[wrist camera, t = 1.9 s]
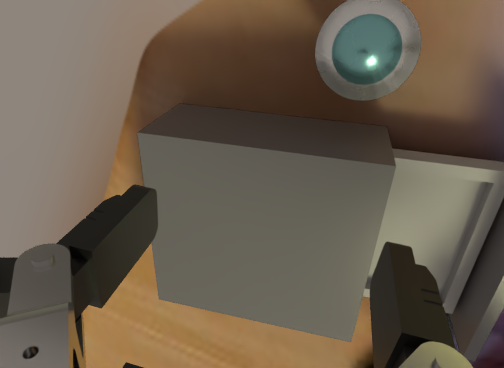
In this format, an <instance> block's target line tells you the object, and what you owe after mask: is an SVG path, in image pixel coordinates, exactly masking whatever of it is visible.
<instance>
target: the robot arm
mask: <svg viewBox="0 0 504 368" xmlns="http://www.w3.org/2000/svg"><path fill="white" fill-rule="evenodd" d="M157 229H158V207H157V192H156V190H155V189H153V188H148V187H144V186H139V185H132V186H131V187H130V188H129V189H128V190H127V191H126V192H125V193H124V194H123V195H122V196H120V195H116V196H113V197H111V198H109V199H107V200H105V201H103V202H102V203H101V204H100V205H99V206H98V207H96V208H95V209H94V211H93V212H91V213H90V214H89V215H88V216H86V219H83V220H82V221H81V222H80V223H79V224H78V225H77V226H75V227H74V228H73V229H72V230H71V231H70V232H69V233H68V234H66V235H65V236H64V237H63V238H62V239H61V240H60V241H59V242H58V243H56V244H43V245H39V246H35V247H33V248H31V249H29V250H27V251H25V252H24V253H22V254H21V255H20V256H19V258H0V368H86V357H85V340H84V322H83V314H82V312H83V311H84V310H85V308H86V307H87V306H88V305H91V306H95V307H98V308H102V307H103V306H104V305H105V303H106V302H107V301H108V299H109V298H110V297H111V295H112V294H113V293H114V291H115V290H116V289H117V287H118V286H119V285H120V283H121V282H122V281H123V279H124V278H125V277H126V275H127V274H128V273H129V271H130V270H131V269H132V268H133V266H134V265H135V264H136V262H137V261H138V260H139V258H140V257H141V256H142V254H143V253H144V252H145V250H146V249H147V248H148V246H149V245H150V244H151V242H152V241H153V240H154V238H155V236H156V233H157ZM439 294H440V292H439V289H438V285H437V282H436V279H435V278H434V276H433V275H432V274H431V272H430V271H429V270H428V269H427V267H426V266H423V265H419V264H415V259H414V255H413V251H412V248H411V247H410V246H406V245H401V244H397V243H392V242H388V241H387V242H386V243H385V244H384V246H383V249H382V252H381V254H380V257H379V260H378V262H377V265H376V268H375V270H374V273H373V276H372V279H371V284H370V309H371V326H372V343H373V360H374V368H473V367H472V365H471V364H470V363H469V361H468V360H467V359H466V358H465V357H464V356H463V355H462V354H461V353H459V352H458V351H457V350H456V349H455V345H454V342H453V338H452V335H451V331H450V328H449V324H448V321H447V317H446V313H445V310H444V307H443V303H442V299H441V296H440V295H439ZM123 368H143V367H140V366H136V365H133V364H130V363H127V362H126V363H125V365H124V366H123Z"/></svg>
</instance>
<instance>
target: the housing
mask: <svg viewBox="0 0 504 368" xmlns="http://www.w3.org/2000/svg"><path fill="white" fill-rule="evenodd" d="M137 135H138V142H139V150H140V158H141V165H142V173H143V181H144V187H148V188H153V189H155V190H156V192H157V207H158V229H157V233H156V236H155V238H154V240H153V241H152V250H153V258H154V265H155V273H156V281H157V288H158V296H159V299H160V300H164V301H169V302H173V303H178V304H182V305H187V306H191V307H196V308H200V309H205V310H209V311H213V312H218V313H222V314H227V315H231V316H236V317H240V318H245V319H249V320H253V321H258V322H262V323H267V324H271V325H276V326H280V327H285V328H289V329H293V330H298V331H302V332H307V333H311V334H316V335H320V336H325V337H329V338H334V339H338V340H342V341H347V342H351V340H352V336H353V332H354V329H355V325H356V321H357V317H358V313H359V309H360V305H361V301H362V298H363V294H364V290H365V286H366V282H367V278H368V274H369V270H370V266H371V263H372V259H373V255H374V251H375V247H376V243H377V239H378V235H379V231H380V228H381V224H382V220H383V216H384V212H385V208H386V204H387V200H388V196H389V193H390V189H391V185H392V181H393V177H394V173H395V169H396V163H395V159H394V155H393V150H392V146H391V142H390V138H389V133H388V129H387V127H386V126H377V125H368V124H359V123H350V122H341V121H332V120H323V119H314V118H305V117H296V116H287V115H278V114H269V113H260V112H251V111H242V110H233V109H224V108H215V107H206V106H197V105H188V104H178V105H177V106H175V107H174V108H172V109H171V110H169V111H168V112H166V113H165V114H163V115H162V116H161V117H159V118H158V119H156V120H155V121H153V122H152V123H150V124H149V125H147V126H146V127H145V128H143V129H142V130H140V131H139V132H137Z"/></svg>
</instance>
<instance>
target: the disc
mask: <svg viewBox="0 0 504 368" xmlns="http://www.w3.org/2000/svg"><path fill="white" fill-rule="evenodd" d="M420 49H421V33H420V29H419V25H418V23H417V20H416V18H415V17H414V15H413V13H412V12H411V11H410V10H409V8H407V7H406V6H405V5H404V4H403V3H401V2H400V1H398V0H346V1H345V2H343V3H342V4H340V5H339V6H338V7H337V8H336V9H335V10H334V11H333V12H332V13H331V14H330V15H329V17H328V18H327V19H326V21H325V22H324V24H323V26H322V28H321V30H320V32H319V35H318V38H317V42H316V47H315V59H316V65H317V68H318V71H319V74H320V76H321V78H322V79H323V81H324V82H325V84H326V85H327V86H328V87H329V88H330V89H331V90H332V91H334V92H335V93H337V94H338V95H340V96H342V97H345V98H348V99H351V100H358V101H366V100H373V99H377V98H380V97H383V96H385V95H387V94H389V93H391V92H393V91H394V90H396V89H397V88H398V87H399V86H401V85H402V84H403V83H404V82H405V81H406V80H407V78H408V77H409V76H410V74H411V73H412V71H413V70H414V68H415V66H416V63H417V61H418V58H419V55H420Z"/></svg>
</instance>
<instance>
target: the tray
mask: <svg viewBox="0 0 504 368" xmlns="http://www.w3.org/2000/svg"><path fill="white" fill-rule="evenodd" d="M392 150H393V155H394V159H395V163H396V169H395V173H394V177H393V181H392V185H391V189H390V193H389V196H388V200H387V204H386V208H385V212H384V216H383V220H382V224H381V228H380V231H379V235H378V239H377V243H376V247H375V251H374V255H373V259H372V263H371V266H370V270H369V274H368V278H367V282H366V286H365V290H364V294H363V296H364V297H369V298H370V284H371V279H372V276H373V273H374V270H375V268H376V265H377V262H378V260H379V257H380V254H381V252H382V249H383V246H384V244H385V243H386V242H387V241H388V242H392V243H397V244H401V245H406V246H410V247H411V248H412V251H413V255H414V259H415V264H419V265H423V266H426V267H427V269H428V270H429V271H430V272H431V274H432V275H433V276H434V278H435V279H436V282H437V285H438V289H439V292H440V294H439V295H440V296H441V299H442V303H443V307H444V310H445V313H449V316H450V320H451V323H452V326H453V330H454V333H455V337H456V340H457V344H458V347H459V351H460V353H461V354H462V355H463V356H464V357H465V358H466V359H467V360H470V361H474V362H475V360H476V358H477V357H478V355H479V353H480V351H481V349H482V347H483V345H484V343H485V342H486V340H487V338H488V336H489V334H490V332H491V330H492V329H493V327H494V325H495V323H496V321H497V319H498V317H499V315H500V314H501V312H502V310H503V308H504V162H499V161H491V160H483V159H475V158H467V157H458V156H450V155H442V154H434V153H425V152H417V151H409V150H401V149H393V148H392Z"/></svg>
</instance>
